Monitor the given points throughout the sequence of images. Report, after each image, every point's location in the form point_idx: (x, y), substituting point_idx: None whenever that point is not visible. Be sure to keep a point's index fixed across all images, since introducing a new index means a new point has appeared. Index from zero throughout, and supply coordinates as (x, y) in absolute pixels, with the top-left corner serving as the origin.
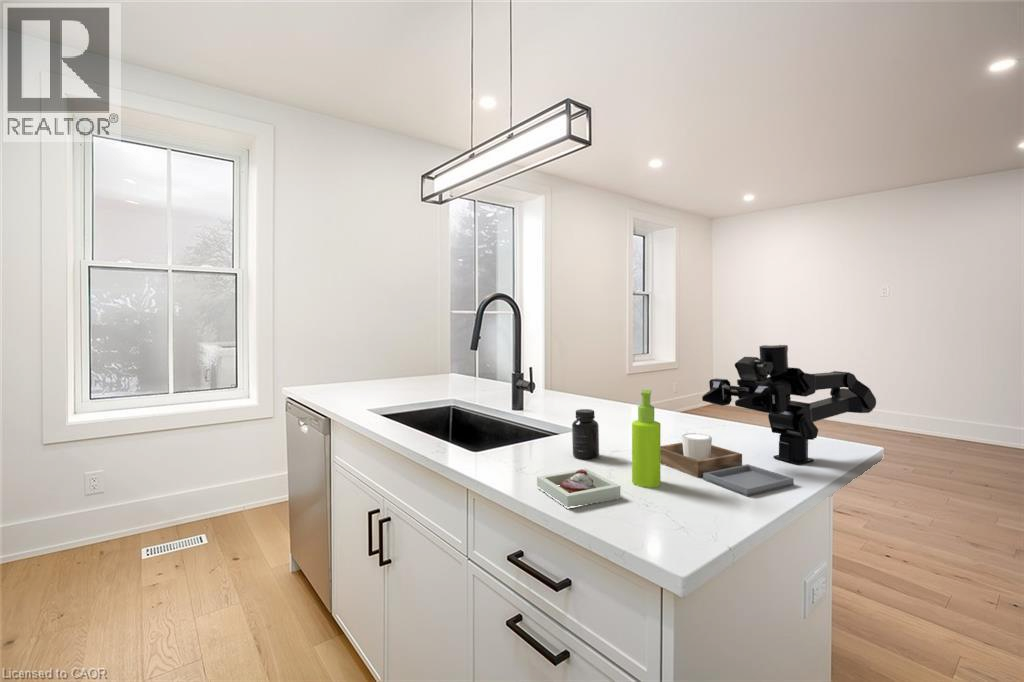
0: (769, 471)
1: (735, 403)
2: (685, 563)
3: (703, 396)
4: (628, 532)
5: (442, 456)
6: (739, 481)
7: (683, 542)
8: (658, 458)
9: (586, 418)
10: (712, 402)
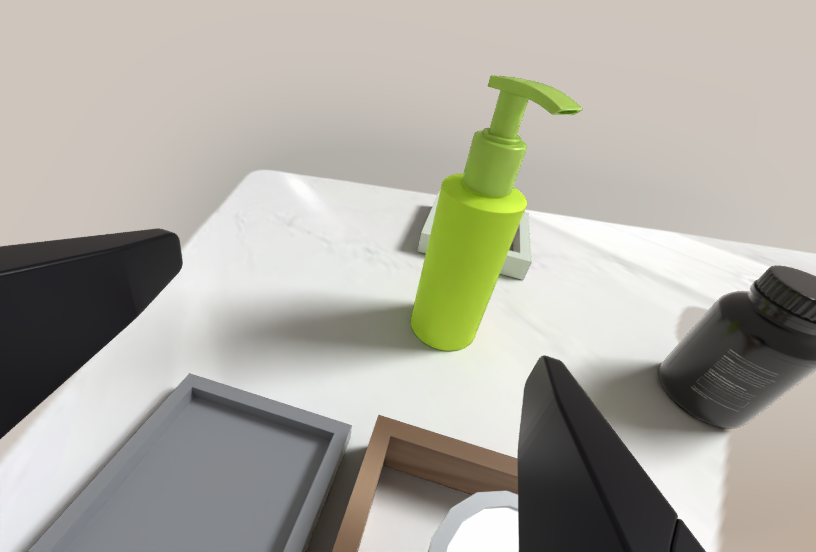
0: None
1: (177, 247)
2: (257, 179)
3: (544, 355)
4: (340, 196)
5: (726, 247)
6: (226, 484)
7: (273, 201)
8: (423, 270)
9: (752, 284)
10: (519, 537)
